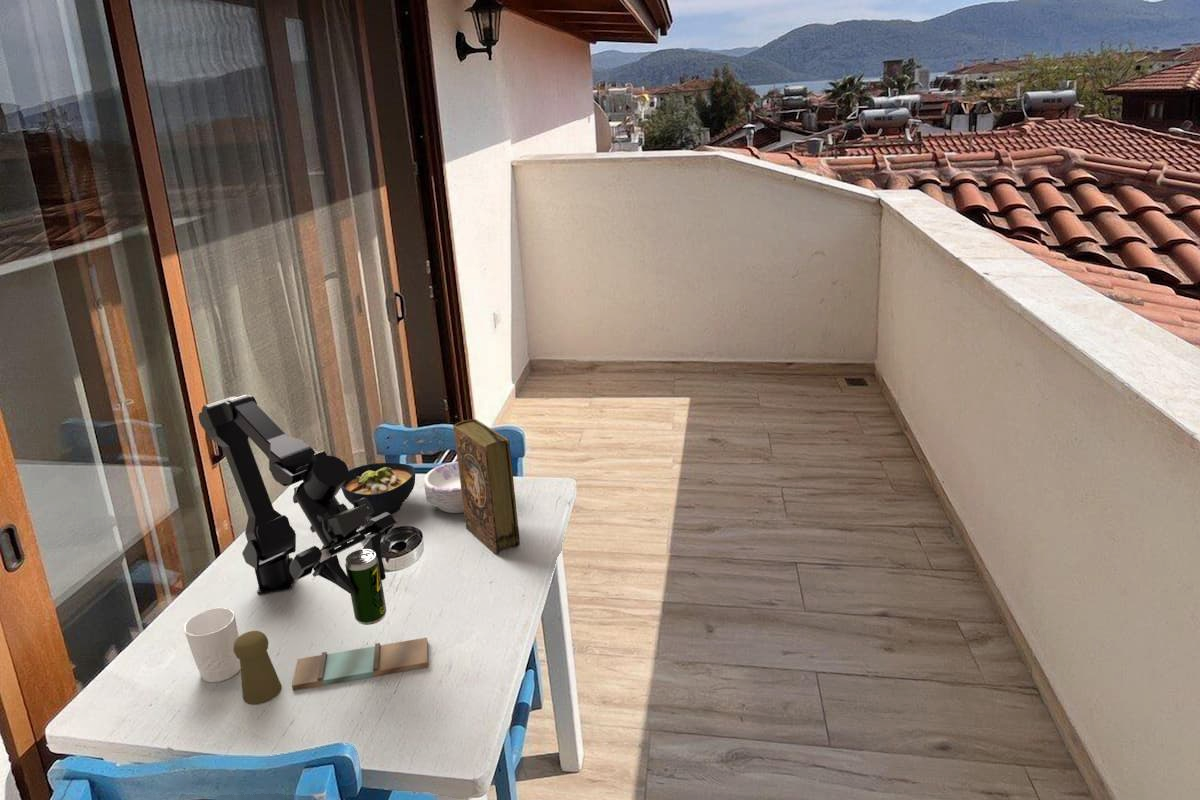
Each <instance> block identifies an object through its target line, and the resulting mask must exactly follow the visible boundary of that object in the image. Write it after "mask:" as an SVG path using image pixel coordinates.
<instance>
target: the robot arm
mask: <svg viewBox="0 0 1200 800" xmlns="http://www.w3.org/2000/svg"><path fill="white" fill-rule="evenodd" d="M198 421H199V424H200V426H201V428H202V429H203V430H205V432H206V435H207V437H208V438H209V439H210V440H211V441H213V442H214V443H215V444H216V445H218V446H219V447H221V448H222V450H223V452H224V455H225V458H226V460H227V463H228V466H229V468H230V470H231V472H230V473H232V477H233V479H234V482H235V485H236V487H237V490H238V493H239V496H240V497H241V501H242V503H243V507H244V509H245V512H246V514H247V517H248V518H247V523H246V526H245V527H246V528H245V531H244V534H245V539H246V540H247V543H246V544H245V546H244V549H243V551H242V553H241V554H242V556H243V559H244V562H245V564H247V565H249V566H250V567H252V568H253V569H254V572H255V577H256V580H257V585H258V588H257V590H256V593H257V594H258V595H262V594H270V593H275V592H281V591H287V590H291V589H292V587H293V584H294V581H298V580H301V579H302V578H304V577H306V576H309V575H311V574H312V576H313V577H317V576H320V577H322V578H323V579H325V580H327V581H329V582H331V583H333V584H335V585H336V586H338V587H339V588H340V589H343V590H344V591H345V592H346V593H348V594H350V596H351V595H353V596H355V595H356V594H357V591H356V589H355V587H354V585H353V584H352V582H351V581H350V579H349V578H348V576H347V573H346V572H345V571H344V569H343V567H342V566H341V564H340V560H339V558H338V555H337V554H340V553H341V552H344V551H346V550H347V549H349V548H353V546H355V545H358V544H360V543H361V544H362V546H363V548H362V549H370V550H373V551H374V552H375V553H376V556H377V558H378V562H379V568H380V574H381V580H382V581H384V580H386V578H387V577H386V576H387V575H386V571H385V567H384V562H383V556H382V550H381V549H382V548H381V545H382V544H381V543H382V539H383V538H384V537H387V535H389V534H390V533H391V531H393V529H394V528H395V526H397V524H398V521H397V520H396V518H395V516H394V514H390V513H388V512H385V513H383V514H381V515H379V516H377V517H371V519H369V521H368V519H367V517H370V515H372V514H373V513H374V511H373V508H372V506H371V504H370V503H369V501H368V500H367V498H366V497H365V498H362V499H360V500H357V501H355V502H354V503H353V504H354V505H353V504H352V505H353V507H352V508H350V509H349V508H348V507H347V505H346V504H344V502H343V503H340V502H339V501H338V499H337V497H336V496H337V494H338V493H339V492H340V490H341V487H342V485H343V484H344V482H345V481H346V479H347V477H348V471H349V468H348V465H347V463H346V462H345V461H343V460H342V459H340V458H339V457H336V456H333V455H328V454H327V453H326V451H325V450H322V451H318V450H316V449H314V448H312V447H311V446H310V445H309V444H308V443H307V442H305V441H304V440H302V439H301V438H296V437H292V436H289V435H287V434H286V433H285V432H284V430H282V429H281V428H280V426H278V425H277V423H276V422H274V421H273V419H272V418H271V417H270V416H269V415H268V414H267V413H266V412H265V411H264V410H263V409H262V408H261V407H260V406H259V405H258V402H257V400H256V398H255V397H254V396H253V395H252V394H243V395H240V396H238V397H237V396H234V395H233V396H230V397H227V398H224V399H221V400H218V401H215V402H211V403H207V404H205V405H203V406H202V407H201V412H199V413H198ZM249 439H250V440H251V441H252V443H254V444H255V445H256V446H257V447H258V448H259V450H261V452H262V453H263V454H264V455H265V456H266V457H267V459H268V470H269V472H270V473H271V475H272V478H273V479H274V480H275V482H277V483H278V484H280V486H282V487H288V486H291V485H294V484H296V483H299V482H301V481H302V482H301V483H300V484H299V485H298V486H296V487H294V488H293V492H294V493H293V496H292V501H293V503H294V504H298V505H299V507H300V508H301V511H302V512H303V513H304V515H305V517H306V518H307V519H308V522H309V523H310V527H309V529H310V530H311V532H312V534H313V533H315V534H316V535H317V536H318V538H319V540H320V542H321V543H322V547H321V549H320V547H318V546H316V545H313V546H311V547H309V548H308V549H305V550H303V551H301V552H299V553H297V554H296V555H295V556H294V558H293V557H290V554H293V553H295V552H296V550H297V547H296V546H297V543H296V542H297V541H296V540H297V538H296V535H297V534H296V531H295V529H294V528H293V527H292V526H291V524H290V520H289V518H288V517H287V515H285V514H283V515H282V514H281V513H279V512H278V511H277V510H275V509H274V507H273V504H272V501H271V499H270V495H269V493H268V490H267V488H266V485H265V483H264V480H263V476H262V474H261V472H260V469H259V467H258V464H257V461H256V458H255V455H254V453H253V450H252V447H251V444H250V442H249ZM362 526H363V529H360V528H361V527H362ZM359 529H360V530H359ZM357 530H358V531H357ZM312 572H313V573H312Z"/></svg>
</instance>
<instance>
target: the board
mask: <svg viewBox="0 0 1200 800" xmlns="http://www.w3.org/2000/svg"><path fill="white" fill-rule="evenodd" d="M428 642H429V640H428V637H422V638H421V637H420V638H416V639H410V640H404V641H398V642H392V643H385V644H381V643H380V642H378V643H374V646H369V647H361V648H356V649H351V650H343V651H339V652H332V653H328V652H327V651H324V652H321V654H320V655H315V656H314V655H313V656H308V657H302V658H297V661H296V665H295V670H294V675H293V680H292V684H291V687H292V691H298V690H303V689H309V688H311V689H312V688H315V687H321V686H327V685H331V684H339V683H343V682H350V681H356V680H362V679H368V678H371V677H372V678H373V677H379V676H383V675H391V674H395V673H402V672H409V671H412V670H413V671H414V670H420V669H424V668H425V669H426V668H428V667H429V651H428V650H429V648H428V646H429V644H428Z"/></svg>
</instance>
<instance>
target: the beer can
mask: <svg viewBox="0 0 1200 800" xmlns="http://www.w3.org/2000/svg"><path fill="white" fill-rule="evenodd" d="M344 566H345V571H346V572H345V573H346V575H347V576H348V578H349V579H350V581H351V582H352V584H353V585H354V587H355V589H356V591H357V594H356V595H355V596H353V595H351V594H350V598H351V603H352V604H351V605H352V608H353V614H354V618H355V620H356V621H357V622H358V623H359V625H363V626H369V625H370V626H371V625H374V624H377V623H379V622H381V621H382V620H383V619H384V618H385V617H386V614H387V606H386V599H385V592H384V586H383V582H382V581H383V580H381V574H380V568H379V562H378V558H377V556H376V553H375V552H374V551H373V550H370V549H363V548H362V549H357V550H355V551H352V552H350V553H349V554H348V555H346V558H345V565H344Z"/></svg>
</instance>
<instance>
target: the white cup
mask: <svg viewBox="0 0 1200 800" xmlns="http://www.w3.org/2000/svg"><path fill="white" fill-rule="evenodd" d="M238 629H239V628H238V625H237V619H236V614H235V611H234V610H232V609H230V608H227V607H213V608H210V609H206V610H204V611H201V612H198V613H196V614H195V615H193V616H192V617H191V618H189V619H188V620H187V621H186V623H185V624H184V626H183V631H184V634H185V637H186V639H187V644H188V646H189V649H190V652H191V655H192V657H193V660H194V663H195V665H196V667H197V669H198V673H199V675H200V678H202V680H203V681H204V682H208V683H220V682H223V681H226V680H228V679H231V678H232V677H233V676H235V675H236V674H238V673H239V672H240V671H241V668H240V659H238V658H237V657H236V655H235V653H234V643H235V641H236V639H237V638H238V637H239V636H240V635H239V630H238Z"/></svg>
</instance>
